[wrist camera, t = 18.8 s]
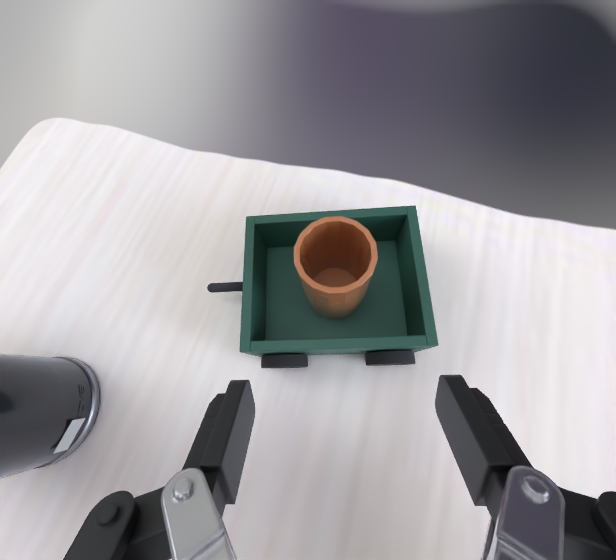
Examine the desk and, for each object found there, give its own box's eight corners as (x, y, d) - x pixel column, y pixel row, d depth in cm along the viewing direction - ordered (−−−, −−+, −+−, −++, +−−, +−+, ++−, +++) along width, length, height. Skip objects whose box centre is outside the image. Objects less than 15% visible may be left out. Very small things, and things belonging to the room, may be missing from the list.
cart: (258, 356, 27) (239, 352, 22) (261, 245, 31) (245, 216, 25) (415, 351, 26) (438, 345, 21) (400, 237, 30) (415, 205, 24)
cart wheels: (219, 369, 27) (198, 369, 23) (228, 238, 32) (212, 217, 27) (408, 364, 26) (423, 362, 22) (391, 228, 30) (400, 205, 26)
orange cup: (307, 321, 27) (294, 294, 18) (305, 267, 29) (293, 218, 20) (365, 319, 27) (381, 290, 18) (360, 264, 28) (373, 213, 19)
